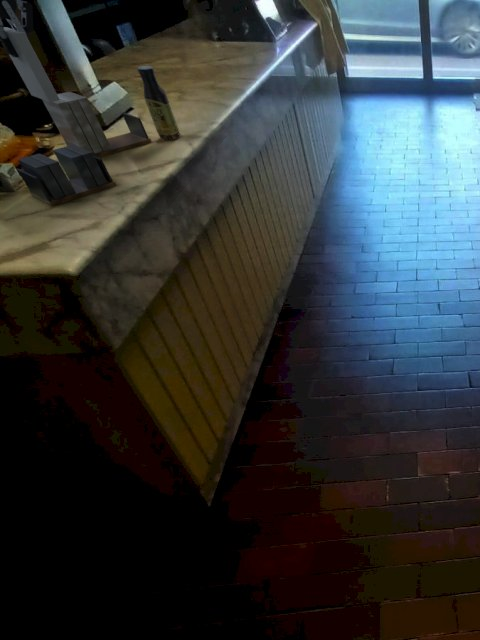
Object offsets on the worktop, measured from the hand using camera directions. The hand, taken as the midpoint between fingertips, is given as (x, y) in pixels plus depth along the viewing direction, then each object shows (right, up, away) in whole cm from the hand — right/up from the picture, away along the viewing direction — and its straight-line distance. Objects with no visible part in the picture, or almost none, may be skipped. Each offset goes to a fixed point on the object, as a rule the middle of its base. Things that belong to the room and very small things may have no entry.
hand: (22, 55), depth 121 cm
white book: (0, -7, +6) cm, 9 cm away
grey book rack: (0, -27, +14) cm, 30 cm away
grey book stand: (-8, -5, +36) cm, 37 cm away
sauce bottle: (+6, +2, +44) cm, 45 cm away
